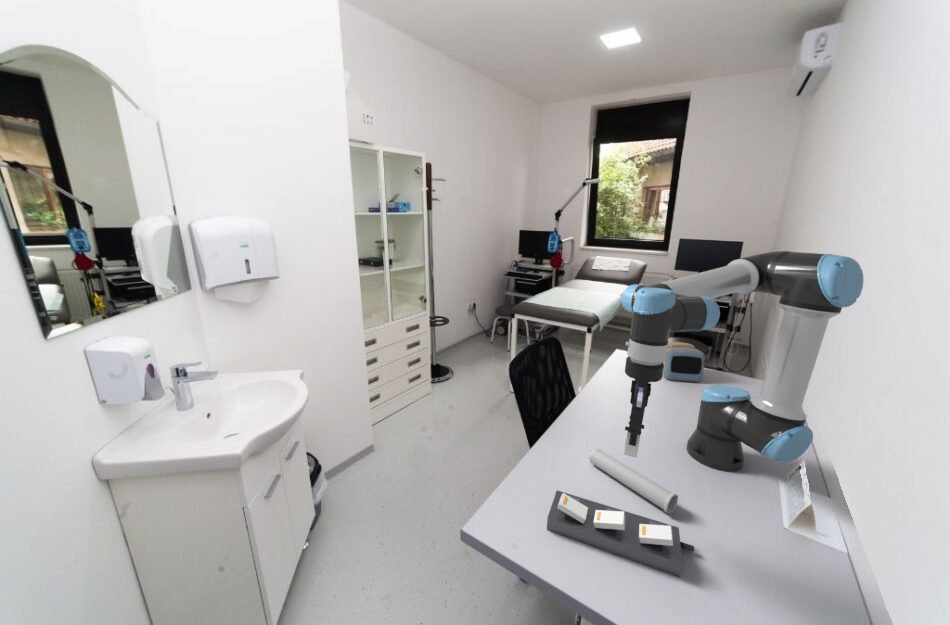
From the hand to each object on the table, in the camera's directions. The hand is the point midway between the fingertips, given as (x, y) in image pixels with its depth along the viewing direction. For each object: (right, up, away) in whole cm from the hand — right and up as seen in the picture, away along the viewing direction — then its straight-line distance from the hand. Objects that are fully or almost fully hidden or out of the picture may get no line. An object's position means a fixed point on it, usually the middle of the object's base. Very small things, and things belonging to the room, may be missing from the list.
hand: (630, 454), depth 85 cm
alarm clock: (+61, +3, +90) cm, 109 cm away
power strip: (-3, -19, 0) cm, 20 cm away
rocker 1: (-13, -14, +2) cm, 19 cm away
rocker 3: (+3, -16, -5) cm, 17 cm away
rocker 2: (-5, -15, -2) cm, 16 cm away
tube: (-1, -10, +27) cm, 29 cm away
